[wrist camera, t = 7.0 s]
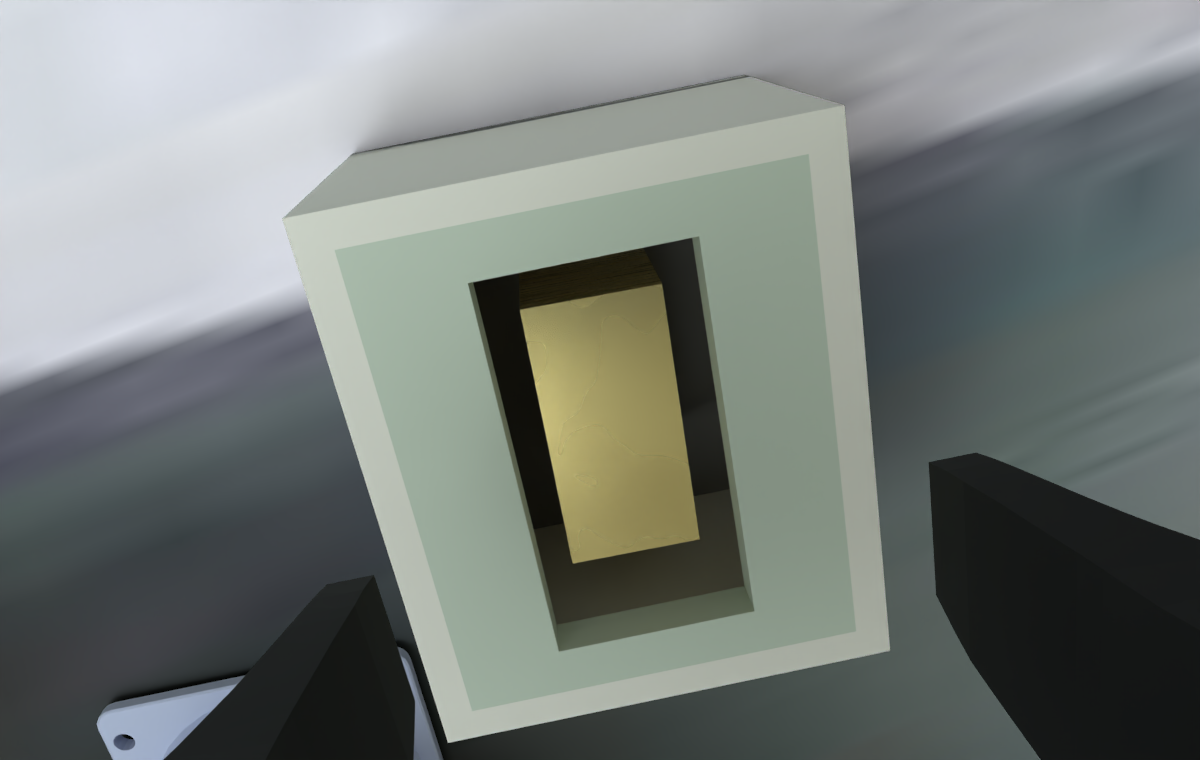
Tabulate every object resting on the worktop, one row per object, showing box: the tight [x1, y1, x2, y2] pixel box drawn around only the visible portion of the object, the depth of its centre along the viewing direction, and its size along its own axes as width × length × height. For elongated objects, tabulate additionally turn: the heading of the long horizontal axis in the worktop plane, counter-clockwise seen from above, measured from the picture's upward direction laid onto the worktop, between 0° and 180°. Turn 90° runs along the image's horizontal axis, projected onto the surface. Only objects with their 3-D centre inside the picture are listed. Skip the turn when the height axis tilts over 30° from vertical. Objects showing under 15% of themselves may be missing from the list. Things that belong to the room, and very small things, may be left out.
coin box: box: [283, 75, 890, 743], centre depth 19 cm, size 10×8×6 cm
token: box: [519, 248, 700, 563], centre depth 19 cm, size 5×2×5 cm, turn 10°
